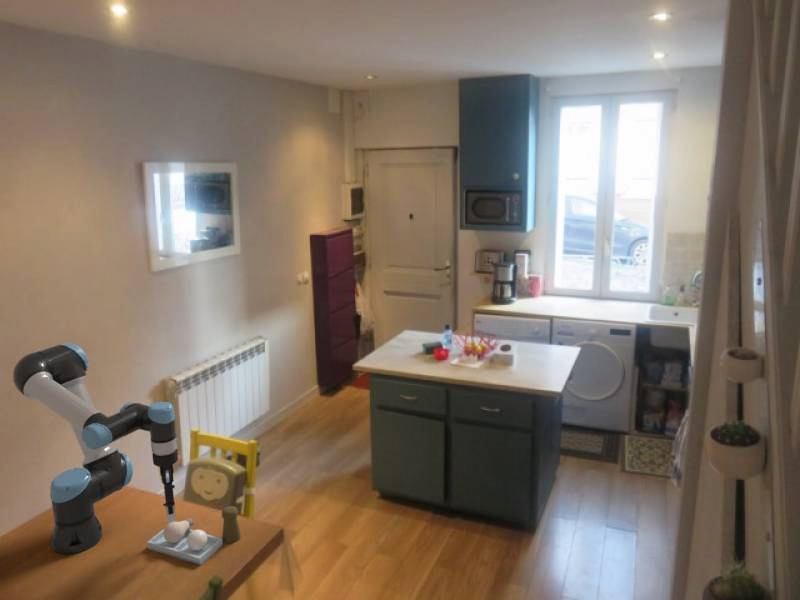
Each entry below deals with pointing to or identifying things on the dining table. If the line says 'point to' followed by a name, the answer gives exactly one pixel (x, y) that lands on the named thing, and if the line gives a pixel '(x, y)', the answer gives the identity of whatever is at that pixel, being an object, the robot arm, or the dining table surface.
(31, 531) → the dining table surface
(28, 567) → the dining table surface
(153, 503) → the dining table surface
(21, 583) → the dining table surface
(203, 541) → the white ball
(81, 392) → the robot arm
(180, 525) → the light bulb
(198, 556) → the tray
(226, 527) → the pepper mill
